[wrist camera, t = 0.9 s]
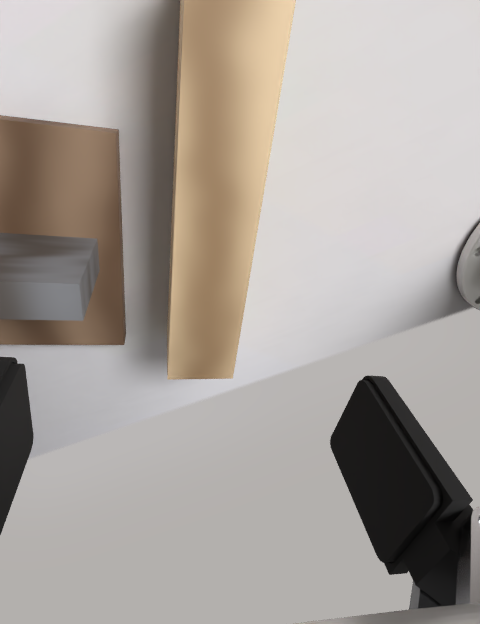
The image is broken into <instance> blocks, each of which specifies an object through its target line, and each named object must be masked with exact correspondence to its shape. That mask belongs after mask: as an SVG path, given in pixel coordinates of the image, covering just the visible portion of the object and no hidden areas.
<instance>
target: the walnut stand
mask: <svg viewBox="0 0 480 624" xmlns="http://www.w3.org/2000/svg"><path fill="white" fill-rule="evenodd" d="M125 337H126V324H125V296H124V268H123V240H122V212H121V184H120V156H119V130H117V129H109V128H101V127H92V126H84V125H76V124H68V123H59V122H51V121H43V120H34V119H26V118H18V117H10V116H1V115H0V344H11V345H124V343H125Z"/></svg>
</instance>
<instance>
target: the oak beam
mask: <svg viewBox="0 0 480 624" xmlns="http://www.w3.org/2000/svg"><path fill="white" fill-rule="evenodd" d="M295 2H296V0H180V17H179V42H178V68H177V94H176V119H175V145H174V170H173V196H172V221H171V247H170V272H169V298H168V323H167V374H168V379H225V378H233V373H234V367H235V361H236V355H237V349H238V343H239V337H240V331H241V325H242V319H243V313H244V307H245V301H246V295H247V290H248V284H249V278H250V272H251V266H252V260H253V254H254V248H255V242H256V236H257V230H258V224H259V218H260V212H261V206H262V200H263V194H264V188H265V182H266V176H267V170H268V164H269V158H270V152H271V146H272V140H273V134H274V128H275V122H276V116H277V110H278V104H279V98H280V92H281V86H282V80H283V74H284V68H285V62H286V56H287V50H288V44H289V38H290V32H291V26H292V20H293V14H294V8H295Z"/></svg>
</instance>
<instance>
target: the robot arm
mask: <svg viewBox="0 0 480 624" xmlns="http://www.w3.org/2000/svg"><path fill="white" fill-rule="evenodd" d="M456 275H457V286H458V289H459V292H460V294H461V295H462V297H463V298H464V299H465V300H466V301H467V302H468V303H469V304H470V305H472V306H473V307H474V308H476V309H478V310H480V223H479V224H478V226H477V227H476V229H475V230H474V231H473V233H472V234H471V236H470V237H469V239H468V241H467V243H466V245H465V246H464V248H463V250H462V253H461V256H460V259H459V262H458V267H457V273H456ZM32 444H33V428H32V420H31V412H30V404H29V395H28V387H27V379H26V371H25V366H24V364H17V360H16V358H12V357H0V534H1V532H2V529H3V526H4V523H5V521H6V518H7V515H8V512H9V510H10V507H11V504H12V501H13V499H14V496H15V493H16V490H17V487H18V484H19V482H20V479H21V476H22V474H23V471H24V468H25V465H26V463H27V460H28V457H29V454H30V452H31V448H32ZM330 445H331V449H332V451H333V454H334V456H335V459H336V461H337V463H338V466H339V468H340V470H341V473H342V475H343V477H344V480H345V482H346V484H347V487H348V489H349V491H350V493H351V496H352V498H353V501H354V503H355V505H356V508H357V510H358V512H359V515H360V517H361V519H362V522H363V524H364V526H365V529H366V531H367V533H368V536H369V538H370V541H371V543H372V545H373V547H374V550H375V552H376V555H377V556H378V558H379V559H380V561H382V562H383V563H385V566H386V568H387V570H388V573H389V574H390V575H392V574H402V573H407V572H408V571H409V572H410V574H411V576H412V578H413V586H412V593H411V600H410V607H409V610H403V611H394V612H387V613H378V614H369V615H361V616H352V617H344V618H336V619H328V620H320V621H311V622H304V623H296V624H480V507H477V508H476V509H474V510H473V509H472V508H471V506H470V505H469V504H470V503H471V502H472V500H473V499H472V498H471V497H470V495H469V494H468V492H467V491H466V489H465V488H464V487H463V485H462V484H461V482H460V481H459V480H458V478H457V477H456V475H455V474H454V472H453V471H452V470H451V468H450V467H449V466H448V464H447V462H446V461H445V460H444V458H443V457H442V455H441V454H440V453H439V451H438V450H437V448H436V447H435V446H434V444H433V443H432V441H431V440H430V438H429V437H428V436H427V434H426V433H425V431H424V430H423V428H422V427H421V426H420V424H419V423H418V421H417V420H416V419H415V417H414V416H413V414H412V413H411V411H410V410H409V409H408V407H407V406H406V404H405V403H404V401H403V400H402V399H401V397H400V396H399V395H398V393H397V392H396V390H395V389H394V387H393V386H392V384H391V383H390V382H389V380H388V379H387V378H386V377H381V376H365V377H364V378H363V379H362V380H361V381H359V382H358V383H357V386H356V388H355V390H354V392H353V394H352V396H351V398H350V400H349V402H348V404H347V406H346V408H345V410H344V412H343V414H342V416H341V418H340V420H339V422H338V424H337V426H336V428H335V430H334V432H333V434H332V436H331V440H330Z"/></svg>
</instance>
